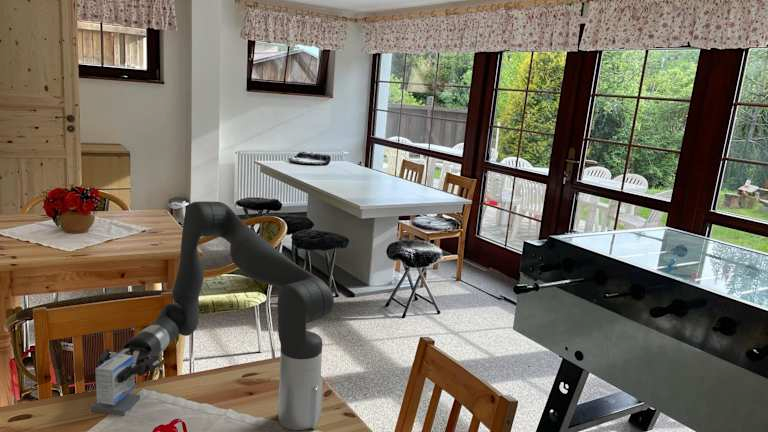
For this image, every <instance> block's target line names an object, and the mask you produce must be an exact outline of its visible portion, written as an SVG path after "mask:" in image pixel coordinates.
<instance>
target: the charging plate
mask: <svg viewBox="0 0 768 432" xmlns="http://www.w3.org/2000/svg"><path fill="white" fill-rule="evenodd" d="M140 399H141V394H135V393H129V394H127V395H126V396H125V397H124V398H123V399H121V400H120V401H119V402H118V403H117V404H116V405H109V404H103V403H98V402H97V400H96V401H95V402H93V403H92V404H91V405H90V411H91V412H96V413H104V414H110V415H111V414H112V413H113V414H112V415H116V414H122V415H121V416H123V415H124V414H125V413H126V412H127V411H128V410H129V411H131V410H132V409H133V408H134V407H135V406H136V405H137V404H138V403H139V402H140V401H141V400H140ZM139 400H140V401H139ZM138 401H139V402H138ZM137 402H138V403H137ZM136 403H137V404H136ZM135 404H136V405H135ZM134 405H135V406H134ZM133 406H134V407H133ZM132 407H133V408H132ZM131 408H132V409H131ZM129 411H128V412H129ZM128 412H127V413H128ZM127 413H126V414H127ZM126 414H125V415H126ZM125 415H124V416H125Z"/></svg>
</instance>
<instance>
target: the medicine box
mask: <svg viewBox="0 0 768 432" xmlns="http://www.w3.org/2000/svg"><path fill="white" fill-rule="evenodd" d="M133 359H134V356H131V355H126V354H116V355H115V356H113V357H112V358H110V359H109V360H108V361H106V362H105V363H103V364H102V365H100V366H99V367H98V366H97V367H96V368H95V370H94V373H95V372H96V377H95V386H96V388H95V389H96V401H97V402H98V403H103V404H109V405H116V404H117V403H118V402H119V401H120V400H121V399H123V398H124V397H125V396H126V395H127V394H131V392H132V391H133V390H134V389H135V388H136V387H135V386H136V385H135V383H136V382H135V375H134V376H131V377H130V378H128V379H127V380H126V381H124V382H122V383H118V374H119V373H120V372H121V371H122V370H124V369H125V368H126V367H129V365H130V364H131V363H132V362H133Z"/></svg>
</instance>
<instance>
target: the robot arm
mask: <svg viewBox="0 0 768 432" xmlns="http://www.w3.org/2000/svg"><path fill="white" fill-rule="evenodd" d="M206 237H208V238H209V237H219V238H221V239H224V240H226V241H227V242H228V243H229V244H230V247H229V253H230V254H229V255H230V259H231V260H232V262H233V264H234V265H235V266H236V267H237V268H238V269H239V270H240V271H242V272H243V273H244V274H245V276H247V277H249V278H251V279H252V280H255V281H256V282H260V283H262V284H266V285H269V286H272V287H276V288H280V290H279V292H278V298H277V333H278V340H279V343H280V355H279V356H280V357H279V382H278V383H279V384H278V386H279V387H278V388H279V389H278V411H277V414H278V417H277V419H278V423H279V424H280V425H281V426H282V427H283V428H285V429H288V430H291V431H292V430H293V431H304V430H309V429H311V430H312V429H313V430H314V429H316V427H317V425H318V423H319V420H320V418H321V415H322V407H323V406H322V405H323V404H322V403H323V402H322V401H323V381H324V379H323V377H322V360H323V359H322V358H323V357H322V356H323V339H322V337H321V336H320V335H319V334H317V333H315V332H313V331H310V330H307V324H309V323H311V322H314V321H315V322H316V321H318V320H321V319H323V318H326V317H327V316H328V315H330V314H331V313H332V311H333V309H334V306H335V305H334V304H335V300H334V296H333V292H332V290H331V289H330V287H329V286H328V284H327V283H325V282H324V280H322V279H321V278H319V277H318V276H316V275H314V274H313V273H311V272H309V271H308V270H307V269H304V268H303V267H301V266H300V265H298V264H297V263H296V262H294V261H292V260H291V259H290V258H289V257H287V256H286V255H284V254H283V253H282V252H280V251H279V250H278V249H277V248H275V247H274V245H272V244H271V243H270V242H269V241H267V240H266V239H265V238H264V237H263V236H261V235H260V234H258V233H257V232H256V231H255V230H253V228H251V227H250V226H248V225H247V223H245V222H244V221H243V220H242V219H241V218H240V217H239V216H238V214H236V213H235V212H234V210H233V209H232V208H231V207H229V206H228V205H227V204H226V203H224V202H222V201H206V200H205V201H204V200H203V201H200V200H199V201H192V202H191V203H189V204H188V206H187V208H186V210H185V214H184V217H183V223H182V233H181V244H180V254H179V262H178V263H179V265H178V270H177V274H176V278H175V281H174V286H173V289H172V292H171V297H172V300H173V301H174V302H175V303H167V304H165V305H164V306H163V307H162V309H161V310H160V312H159V315H158V317H157V318H156V319H155V321H154V322H152V324H151V323H150V325H149V326H147V327H144V328H143V329H142V330H141V331H139V332H138V333H137V334H136V335H134V336H133V337H131V338H130V339H129V340H128V341H127V342H125V345H124V346H123V348H122V349H118V350H117V351H116V352H115V351H114V352H111V349H109V348H107V349H105V350H104V351H103V353H102V354H101V355H100V357H99V358H98V359H97V363H98V366H97V367H99V366H100V365H102V364H103V363H105V362H106V361H108V360H109V359H110V358H112V357H113V356H115V355H116V354H126V355H131V356H134V359H133V362H132V363H131V364H130V365H129V367H126V368H125V369H124V370H122V371H121V372H120V373H119V374H118V383H122V382H124V381H126V380H127V379H128V378H130V377H131V376H134V377H135V375H137V376H138V377H143V376H144V375H146V374H148V373H149V372H151V371H153V370H155V369H156V368H158V367H159V366H160V365H159V364H160V363H159V361H160V360H159V359H160V357H159V356H160V355H161V354H162V353H163V351H165V350H166V348H167V347H168V346H169V345H170V344H172V342H174V341H175V340H176V339H177V337H178V335H181V336H184V337H185V336H186V337H187V336H190V335H192V334H193V333H194V332H196V329H197V328H198V325H199V320H200V314H199V313H200V312H199V311H200V310H199V297H200V293H201V291H202V286H203V284H204V280H205V279H204V278H205V276H204V275H205V271H204V269H203V268H204V267H203V264H202V263H201V260H200V257H199V254H198V247H199V246H198V245H199V243H200V239H201V238H206ZM94 375H95V376H94V377H95V378H96V372H95V371H94Z"/></svg>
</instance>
